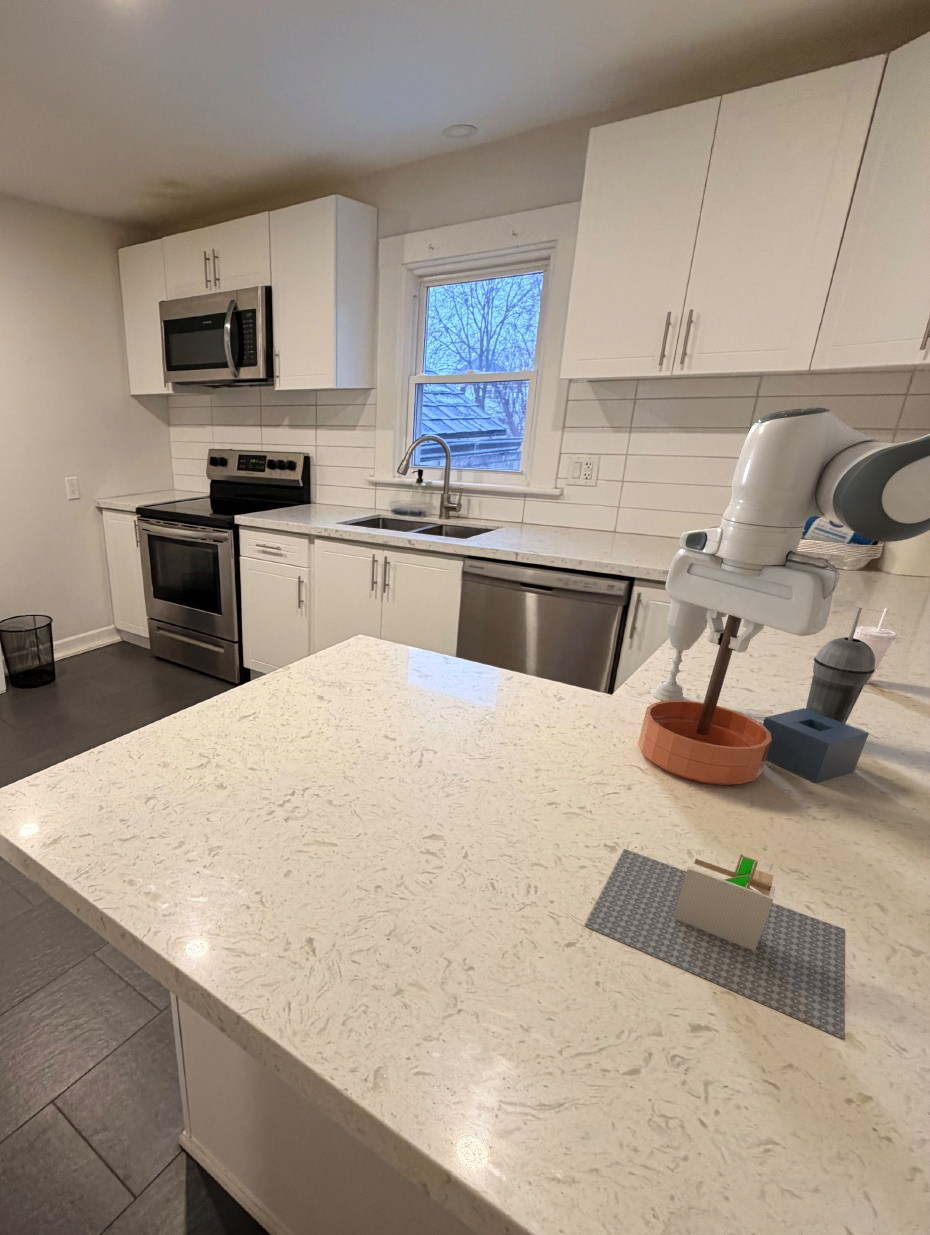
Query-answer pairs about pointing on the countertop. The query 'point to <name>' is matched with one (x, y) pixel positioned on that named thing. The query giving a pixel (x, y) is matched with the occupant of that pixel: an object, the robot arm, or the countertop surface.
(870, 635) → the smoothie
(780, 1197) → the countertop surface
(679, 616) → the chalice
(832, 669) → the beverage cup
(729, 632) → the stick
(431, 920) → the countertop surface
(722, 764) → the bowl
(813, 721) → the holder
